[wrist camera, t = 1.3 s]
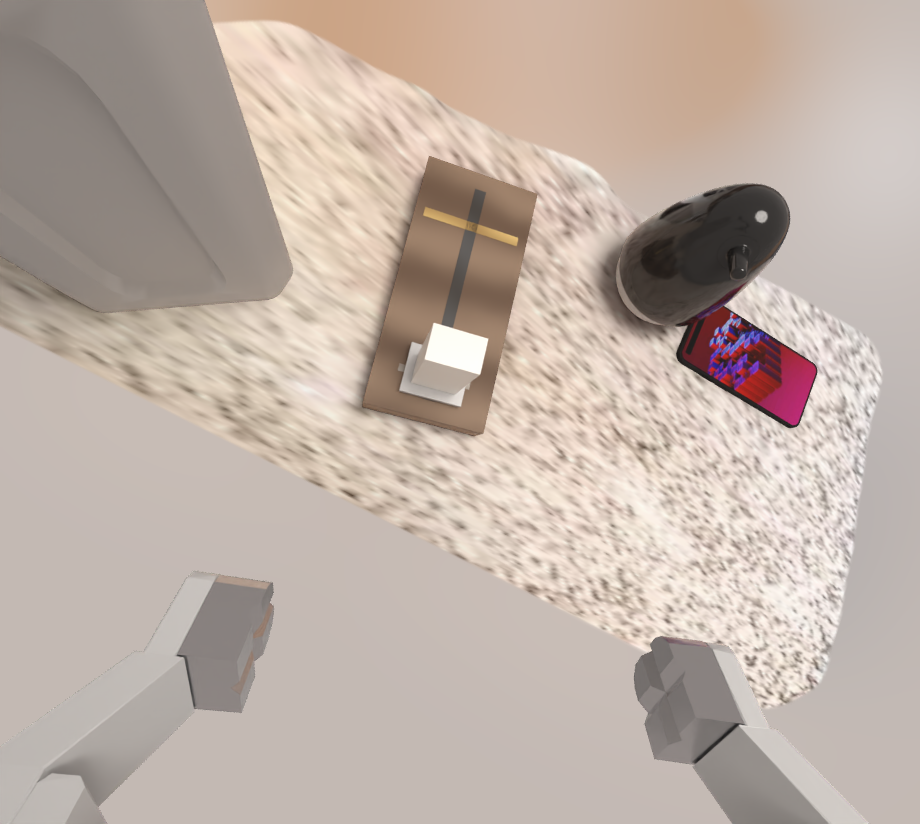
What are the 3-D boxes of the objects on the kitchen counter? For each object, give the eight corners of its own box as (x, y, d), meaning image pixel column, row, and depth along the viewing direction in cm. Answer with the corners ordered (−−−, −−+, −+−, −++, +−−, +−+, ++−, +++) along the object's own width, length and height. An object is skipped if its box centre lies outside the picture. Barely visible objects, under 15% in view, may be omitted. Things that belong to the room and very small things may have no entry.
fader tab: (459, 407, 39) (487, 389, 30) (398, 391, 38) (410, 368, 30) (470, 360, 40) (501, 330, 31) (411, 343, 39) (425, 307, 30)
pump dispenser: (582, 307, 46) (687, 231, 31) (622, 219, 48) (738, 108, 33) (671, 357, 48) (812, 307, 33) (706, 269, 50) (854, 185, 35)
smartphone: (797, 431, 49) (677, 358, 47) (789, 432, 50) (671, 360, 48) (820, 366, 51) (705, 292, 49) (812, 367, 51) (698, 295, 49)
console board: (474, 435, 43) (483, 433, 40) (362, 407, 41) (362, 402, 38) (526, 211, 46) (537, 193, 43) (424, 176, 45) (429, 155, 42)
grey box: (220, 380, 39) (-101, 176, 12) (44, 282, 37) (-812, -224, 10) (345, 197, 43) (318, -277, 16) (189, 100, 41) (-146, -625, 14)
